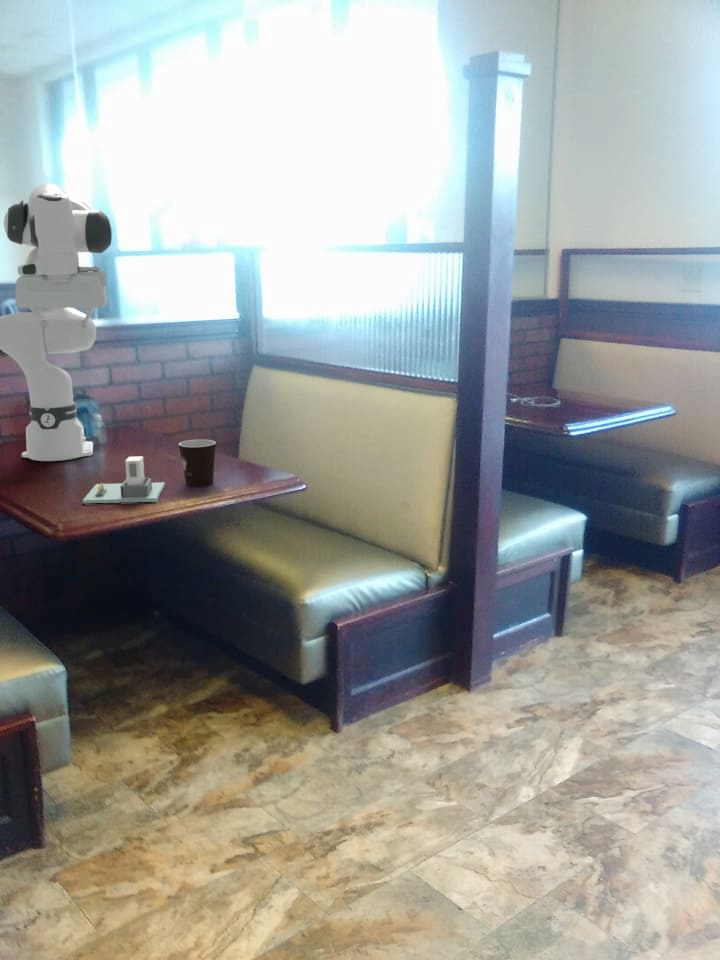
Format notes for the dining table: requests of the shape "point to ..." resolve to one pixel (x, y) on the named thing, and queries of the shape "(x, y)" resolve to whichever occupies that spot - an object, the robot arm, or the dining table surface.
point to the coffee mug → (198, 462)
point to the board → (125, 492)
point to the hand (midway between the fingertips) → (64, 327)
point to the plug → (135, 471)
